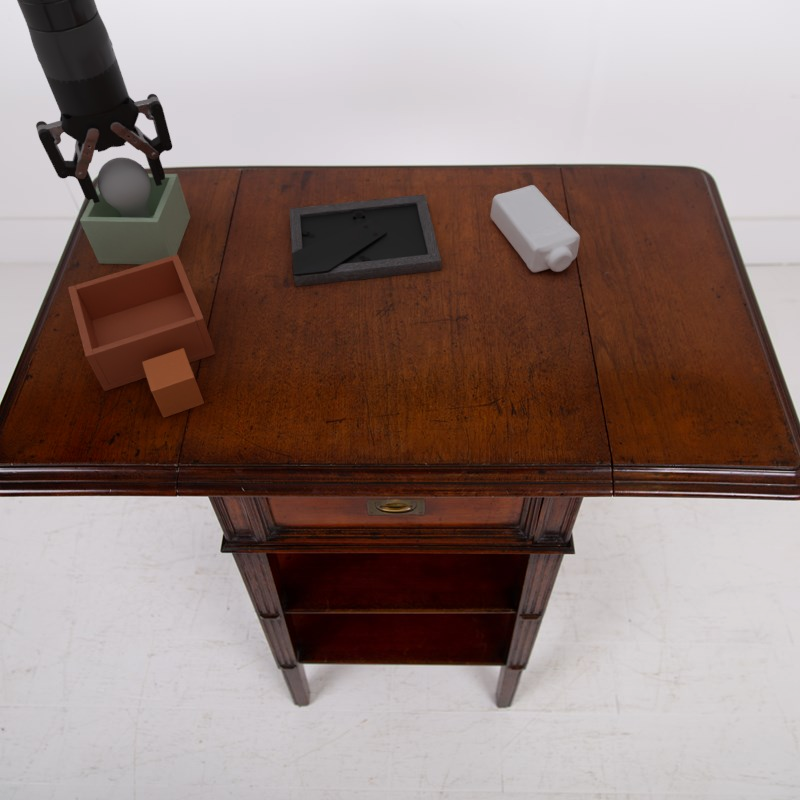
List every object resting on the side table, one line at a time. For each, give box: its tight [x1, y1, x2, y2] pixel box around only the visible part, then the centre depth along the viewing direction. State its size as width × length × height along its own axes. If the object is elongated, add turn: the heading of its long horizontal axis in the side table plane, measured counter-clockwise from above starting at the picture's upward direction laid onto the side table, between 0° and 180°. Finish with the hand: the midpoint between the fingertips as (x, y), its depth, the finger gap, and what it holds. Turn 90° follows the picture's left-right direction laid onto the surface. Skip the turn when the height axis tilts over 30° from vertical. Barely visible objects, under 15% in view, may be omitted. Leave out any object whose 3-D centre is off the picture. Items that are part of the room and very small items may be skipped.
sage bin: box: [79, 173, 191, 265], centre depth 96 cm, size 10×10×7 cm
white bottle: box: [490, 184, 581, 273], centre depth 94 cm, size 6×13×4 cm, turn 22°
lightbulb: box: [96, 157, 151, 218], centre depth 94 cm, size 6×6×11 cm
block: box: [142, 348, 205, 418], centre depth 80 cm, size 4×4×4 cm
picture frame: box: [289, 193, 442, 287], centre depth 96 cm, size 13×2×18 cm
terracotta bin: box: [67, 253, 216, 392], centre depth 85 cm, size 13×12×6 cm
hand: (127, 190), depth 93 cm, fingers open, 7 cm apart
